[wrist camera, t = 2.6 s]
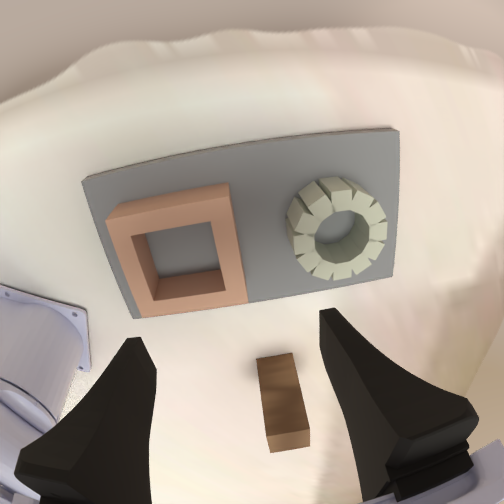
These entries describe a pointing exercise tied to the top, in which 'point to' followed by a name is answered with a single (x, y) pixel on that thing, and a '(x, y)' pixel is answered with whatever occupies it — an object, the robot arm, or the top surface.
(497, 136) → the top surface
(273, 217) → the socket block
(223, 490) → the top surface
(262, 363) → the square bit
